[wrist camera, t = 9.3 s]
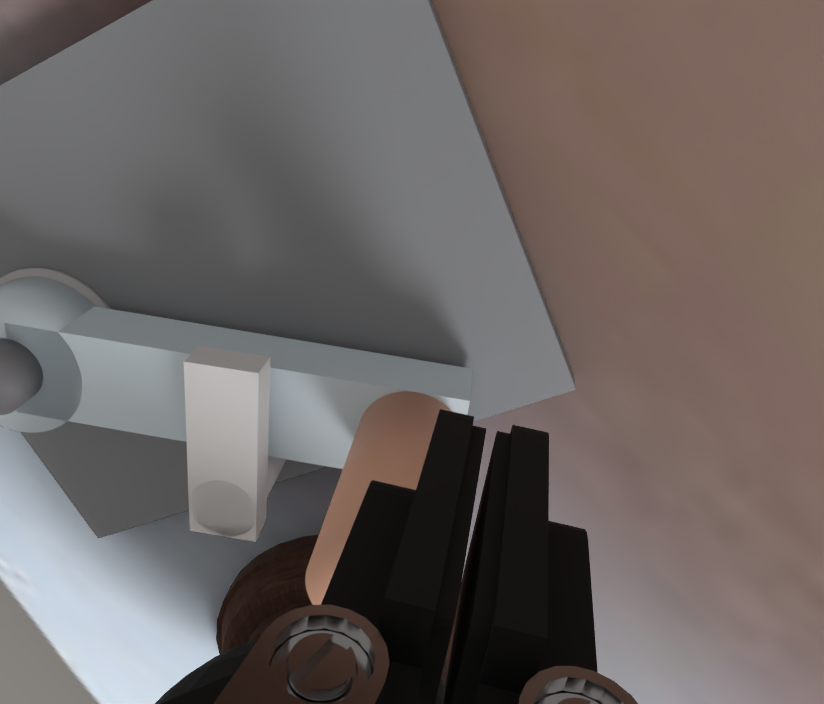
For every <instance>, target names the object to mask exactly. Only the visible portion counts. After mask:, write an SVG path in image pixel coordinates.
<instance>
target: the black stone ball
mask: <svg viewBox="0 0 824 704" xmlns="http://www.w3.org/2000/svg"><path fill="white" fill-rule="evenodd" d="M318 536H319V535H315V536H306V537H301V538H298V539H295V540H291V541H288V542H285V543H282V544H279V545H277V546H275V547H273V548H271V549H269V550H267V551H266V552H264V553H262V554H260V555H258V556H257V557H256V558H255V559H254V560H253V561H251V562H250V563H249V564H248V565H247V566H246V567H245V568H243V569H242V570H241V572H240V573H239V575H238V576H237V578H236V579H235V581H234V582H233V584H232V585H231V587H230V589H229V591H228V593H227V595H226V597H225V599H224V601H223V604H222V607H221V610H220V613H219V616H218V619H217V636H216V640H217V644H218V649H219V654H220V655H218V656H216V657H214V658H213V659H211V660H210V661H208V662H207V663H205V664H204V665H202V666H200V667H199V668H197V669H196V670H194V671H193V672H191V673H190V674H188V675H187V676H185V677H184V678H183V679H182V680H181V681H179V682H178V683H177V684H176V685H174V686H173V687H172V688H171V689H170V690H168V691H167V692H166V693H165V694H164V695H163V696H162V697H161V698H160V699H159V700H158V701H157V702H156V703H155V704H162V703H164V702H166V701H169V700H171V699H174V698H176V697H178V696H181V695H183V694H185V693H188V692H190V691H193V690H195V689H197V688H200V687H202V686H204V685H207V684H209V683H212V682H214V681H216V680H219V679H221V678H223V677H226V676H228V675H231V674H233V673H235V672H236V671H237V669H238V668H239V666H240V665H241V664H242V662H243V661H244V659H245V658H246V656H247V655H248V654H249V652H250V651H251V649H252V648H253V646H254V645H255V644H256V642H257V641H258V639H259V638H260V636H261V635H262V633H263V632H264V631H265V630H266V629H267V628H268V627H269V626H270V625H271V624H272V623H273V622H274V621H275V620H276V619H277V618H279V617H280V616H282V615H284V614H286V613H288V612H289V611H291V610H293V609H297V608H301V607H305V606H309V605H313V604H312V603H311V601H310V599H309V596H308V593H307V590H306V584H305V576H306V570H307V567H308V564H309V561H310V558H311V556H312V553H313V550H314V547H315V544H316V542H317V539H318ZM461 584H462V582H461ZM460 590H461V586H460ZM459 596H460V592H459ZM458 603H459V598H458ZM457 609H458V604H457ZM457 609H456V614H455V619H454V624H453V629H452V633H451V637H450V642H449V646H448V650H447V654H446V659H445V663H444V667H443V671H442V675H441V680H440V684H439V688H438V692H437V696H436V701H435V704H442V701H443V695H444V689H445V683H446V677H447V670H448V664H449V658H450V652H451V646H452V640H453V633H454V627H455V621H456V615H457Z"/></svg>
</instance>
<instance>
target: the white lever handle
mask: <svg viewBox="0 0 824 704" xmlns="http://www.w3.org/2000/svg"><path fill="white" fill-rule="evenodd" d="M198 346H205V347H211V348H217V349H224V350H230V351H237V352H243V353H250V354H256V355H263V356H269V357H270V395H269V435H268V456H270V457H276V458H282V459H288V460H293V461H299V462H305V463H310V464H316V465H322V466H328V467H333V468H339V469H343V470H342V473H341V475H340V478H339V481H338V484H337V487H336V489H335V492H334V495H333V498H332V500H331V503H330V506H329V509H328V511H327V514H326V517H325V520H324V522H323V525H322V528H321V531H320V533H319V536H318V539H317V542H316V544H315V547H314V550H313V553H312V556H311V558H310V561H309V564H308V567H307V570H306V576H305V584H306V590H307V593H308V596H309V599H310V601H311V603H312V604H313V605H321V603H322V601H323V598H324V596H325V593H326V591H327V588H328V586H329V583H330V581H331V578H332V576H333V573H334V571H335V568H336V566H337V563H338V561H339V558H340V556H341V553H342V551H343V548H344V546H345V543H346V541H347V538H348V536H349V533H350V531H351V528H352V526H353V523H354V521H355V518H356V516H357V513H358V511H359V508H360V506H361V504H362V501H363V499H364V496H365V494H366V491H367V489H368V486H369V484H370V482H371V481H372V480H375V481H379V482H383V483H388V484H392V485H396V486H401V487H405V488H409V489H413V490H416V488H417V485H418V481H419V478H420V475H421V471H422V468H423V465H424V461H425V458H426V454H427V451H428V448H429V444H430V441H431V437H432V434H433V431H434V427H435V424H436V420H437V417H438V414H439V411H440V409H443V410H447V411H452V412H456V413H461V414H465V415H467V414H468V409H469V403H470V395H471V384H472V373H473V369H471V368H465V367H459V366H452V365H446V364H440V363H434V362H428V361H422V360H416V359H410V358H404V357H398V356H392V355H386V354H380V353H374V352H368V351H362V350H356V349H350V348H343V347H337V346H331V345H325V344H319V343H313V342H307V341H301V340H295V339H289V338H283V337H277V336H271V335H265V334H259V333H253V332H247V331H240V330H234V329H228V328H222V327H216V326H210V325H204V324H198V323H192V322H186V321H180V320H174V319H168V318H162V317H156V316H150V315H144V314H138V313H131V312H125V311H119V310H113V309H107V308H101V307H95V306H94V305H93V304H92V303H91V302H90V301H89V300H88V299H87V298H85V297H84V296H83V295H82V294H80V293H79V292H78V291H76V290H74V289H73V288H71V287H69V286H67V285H65V284H63V283H61V282H58V281H55V280H53V279H48V278H44V277H35V276H30V277H21V278H16V279H13V280H10V281H8V282H6V283H4V284H3V285H1V286H0V426H2V427H5V428H8V429H11V430H15V431H19V432H28V433H38V432H45V431H49V430H53V429H55V428H57V427H59V426H61V425H63V424H64V423H66V422H67V421H70V422H76V423H81V424H87V425H93V426H99V427H104V428H110V429H116V430H121V431H127V432H133V433H139V434H144V435H150V436H156V437H162V438H167V439H173V440H179V441H184V442H187V441H186V413H185V385H184V361H185V360H186V359H187V358H188V356H189V355H190V354H191V353H192V352H193V351H194V350H195V349H196V348H197V347H198Z"/></svg>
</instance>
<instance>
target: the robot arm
mask: <svg viewBox="0 0 824 704" xmlns="http://www.w3.org/2000/svg"><path fill="white" fill-rule="evenodd" d="M473 421H474V416H470V415H465V414H461V413H456V412H452V411H447V410H443V409H440V411H439V414H438V417H437V420H436V424H435V427H434V431H433V434H432V437H431V441H430V444H429V448H428V451H427V454H426V458H425V461H424V465H423V468H422V471H421V475H420V478H419V481H418V485H417V488H416V490H413V489H409V488H405V487H401V486H396V485H392V484H388V483H383V482H379V481H375V480H372V481H371V482H370V484H369V486H368V489H367V491H366V494H365V496H364V499H363V501H362V504H361V506H360V508H359V511H358V513H357V516H356V518H355V521H354V523H353V526H352V528H351V531H350V533H349V536H348V538H347V541H346V543H345V546H344V548H343V551H342V553H341V556H340V558H339V561H338V563H337V566H336V568H335V571H334V573H333V576H332V578H331V581H330V583H329V586H328V588H327V591H326V593H325V596H324V598H323V601H322V603H321V605H309V606H305V607H301V608H297V609H293V610H291V611H289V612H288V613H286V614H284V615H282V616H280V617H279V618H277V619H276V620H275V621H274V622H273V623H272V624H271V625H270V626H269V627H268V628H267V629H266V630H265V631H264V632H263V633H262V635H261V636H260V638H259V639H258V641H257V642H256V644H255V645H254V646H253V648H252V649H251V651H250V652H249V654H248V655H247V656H246V658H245V659H244V661H243V662H242V664H241V665H240V666H239V668H238V669H237V671H236V672H235V673H233V674H231V675H228V676H226V677H223V678H221V679H219V680H216V681H214V682H212V683H209V684H207V685H204V686H202V687H200V688H197V689H195V690H193V691H190V692H188V693H185V694H183V695H181V696H178V697H176V698H174V699H171V700H169V701H166V702H164V703H162V704H435V701H436V696H437V692H438V688H439V684H440V680H441V675H442V671H443V667H444V663H445V659H446V654H447V650H448V646H449V642H450V637H451V633H452V629H453V624H454V619H455V614H456V609H457V604H458V609H457V615H456V621H455V627H454V633H453V640H452V646H451V652H450V658H449V664H448V670H447V677H446V683H445V689H444V695H443V701H442V704H638V703H637V702H636V701H635V699H634V698H633V697H632V696H631V695H630V694H629V693H628V692H626V691H625V690H624V689H623V688H622V687H620V686H619V685H618V684H617V683H615V682H614V681H612V680H611V679H609V678H607V677H605V676H603V675H601V674H599V673H597V660H596V646H595V632H594V618H593V604H592V590H591V576H590V562H589V548H588V537H587V532H586V531H585V529H581V528H577V527H573V526H568V525H564V524H560V523H555V522H551V521H548V494H549V433H547V432H543V431H538V430H534V429H529V428H524V427H520V426H515V425H513V426H512V429H511V432H510V434H508V433H504V432H499V431H497V434H496V437H495V441H494V446H493V450H492V454H491V458H490V463H489V467H488V471H487V475H486V480H485V484H484V488H483V492H482V497H481V501H480V505H479V509H478V514H477V518H476V522H475V526H474V531H473V535H472V539H471V543H470V548H469V552H468V556H467V560H466V565H465V569H464V574H463V568H464V562H465V556H466V550H467V543H468V537H469V531H470V525H471V519H472V513H473V507H474V501H475V495H476V488H477V482H478V476H479V470H480V464H481V458H482V452H483V446H484V440H485V433H486V429H485V428H481V427H476V426H473ZM462 574H463V579H462ZM461 580H462V584H461ZM460 586H461V590H460ZM459 592H460V596H459ZM458 598H459V603H458Z"/></svg>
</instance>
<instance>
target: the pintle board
mask: <svg viewBox="0 0 824 704" xmlns="http://www.w3.org/2000/svg"><path fill="white" fill-rule="evenodd" d="M30 276H35V277H44V278H48V279H53V280H55V281H58V282H61V283H63V284H65V285H67V286H69V287H71V288H73V289H74V290H76V291H78V292H79V293H80V294H82V295H83V296H84V297H85V298H87V299H88V300H89V301H90V302H91V303H92V304H93V305H94V306H95V307H101V308H107V309H113V310H119V311H125V312H131V313H138V314H144V315H150V316H156V317H162V318H168V319H174V320H180V321H186V322H192V323H198V324H204V325H210V326H216V327H222V328H228V329H234V330H240V331H247V332H253V333H259V334H265V335H271V336H277V337H283V338H289V339H295V340H301V341H307V342H313V343H319V344H325V345H331V346H337V347H343V348H350V349H356V350H362V351H368V352H374V353H380V354H386V355H392V356H398V357H404V358H410V359H416V360H422V361H428V362H434V363H440V364H446V365H452V366H459V367H465V368H471V369H473V373H472V384H471V395H470V403H469V409H468V414H467V415H470V416H474V421H477V420H480V419H484V418H487V417H490V416H493V415H497V414H500V413H503V412H506V411H509V410H513V409H516V408H519V407H522V406H526V405H529V404H532V403H535V402H538V401H542V400H545V399H548V398H551V397H554V396H558V395H561V394H564V393H567V392H571V391H574V390H576V385H575V380H574V375H573V372H572V370H571V367H570V365H569V362H568V359H567V357H566V354H565V351H564V349H563V346H562V343H561V341H560V338H559V336H558V333H557V330H556V328H555V325H554V322H553V320H552V317H551V314H550V312H549V309H548V307H547V304H546V301H545V299H544V296H543V293H542V291H541V288H540V285H539V283H538V280H537V278H536V275H535V272H534V270H533V267H532V264H531V262H530V259H529V256H528V254H527V251H526V249H525V246H524V243H523V241H522V238H521V235H520V233H519V230H518V227H517V225H516V222H515V220H514V217H513V214H512V212H511V209H510V206H509V204H508V201H507V198H506V196H505V193H504V191H503V188H502V185H501V183H500V180H499V177H498V175H497V172H496V169H495V167H494V164H493V162H492V159H491V156H490V154H489V151H488V148H487V146H486V143H485V140H484V138H483V135H482V133H481V130H480V127H479V125H478V122H477V119H476V117H475V114H474V111H473V109H472V106H471V104H470V101H469V98H468V96H467V93H466V90H465V88H464V85H463V82H462V80H461V77H460V75H459V72H458V69H457V67H456V64H455V61H454V59H453V56H452V53H451V51H450V48H449V46H448V43H447V40H446V38H445V35H444V32H443V30H442V27H441V24H440V22H439V19H438V17H437V14H436V11H435V9H434V6H433V3H432V1H431V0H152V1H150V2H149V3H147V4H145V5H143V6H141V7H140V8H138V9H136V10H134V11H133V12H131V13H129V14H127V15H125V16H124V17H122V18H120V19H118V20H116V21H115V22H113V23H111V24H109V25H107V26H106V27H104V28H102V29H100V30H98V31H97V32H95V33H93V34H91V35H90V36H88V37H86V38H84V39H82V40H81V41H79V42H77V43H75V44H73V45H72V46H70V47H68V48H66V49H64V50H63V51H61V52H59V53H57V54H55V55H54V56H52V57H50V58H48V59H47V60H45V61H43V62H41V63H39V64H38V65H36V66H34V67H32V68H30V69H29V70H27V71H25V72H23V73H21V74H20V75H18V76H16V77H14V78H12V79H11V80H9V81H7V82H5V83H4V84H2V85H0V286H1V285H3V284H4V283H6V282H8V281H10V280H13V279H16V278H21V277H30ZM184 385H185V413H186V441H187V442H184V441H179V440H173V439H167V438H162V437H156V436H150V435H144V434H139V433H133V432H127V431H121V430H116V429H110V428H104V427H99V426H93V425H87V424H81V423H76V422H70V421H67V422H66V423H64V424H63V425H61V426H59V427H57V428H55V429H53V430H49V431H45V432H38V433H28V432H21V433H22V435H23V436H24V437H25V439H26V440H27V442H28V443H29V444H30V446H31V447H32V448H33V450H34V451H35V453H36V454H37V455H38V457H39V458H40V459H41V461H42V462H43V463H44V465H45V466H46V468H47V469H48V470H49V472H50V473H51V474H52V476H53V477H54V479H55V480H56V481H57V483H58V484H59V485H60V487H61V488H62V489H63V491H64V492H65V494H66V495H67V496H68V498H69V499H70V500H71V502H72V503H73V505H74V506H75V507H76V509H77V510H78V511H79V513H80V514H81V515H82V517H83V518H84V520H85V521H86V522H87V524H88V525H89V526H90V528H91V529H92V531H93V532H94V533H95V535H96V536H97V537H98V538H101V537H104V536H107V535H111V534H114V533H117V532H120V531H123V530H127V529H130V528H133V527H136V526H140V525H143V524H146V523H149V522H152V521H156V520H159V519H162V518H165V517H168V516H172V515H175V514H178V513H181V512H185V511H188V510H189V525H190V531H194V532H200V533H206V534H212V535H218V536H224V537H229V538H235V539H241V540H247V541H253V542H256V541H257V539H258V537H259V535H260V532H261V530H262V528H263V526H264V524H265V522H266V516H267V497H268V495H269V493H270V491H271V489H272V487H273V485H274V484H275V483H278V482H281V481H284V480H287V479H291V478H294V477H297V476H300V475H304V474H307V473H310V472H313V471H316V470H320V469H323V468H326V467H328V466H322V465H316V464H310V463H305V462H299V461H293V460H288V459H282V458H276V457H270V456H268V435H269V395H270V357H269V356H263V355H256V354H250V353H243V352H237V351H230V350H224V349H217V348H211V347H205V346H198V347H197V348H196V349H195V350H194V351H193V352H192V353H191V354H190V355H189V356H188V358H187V359H186V360H185V361H184ZM474 421H473V422H474Z"/></svg>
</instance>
